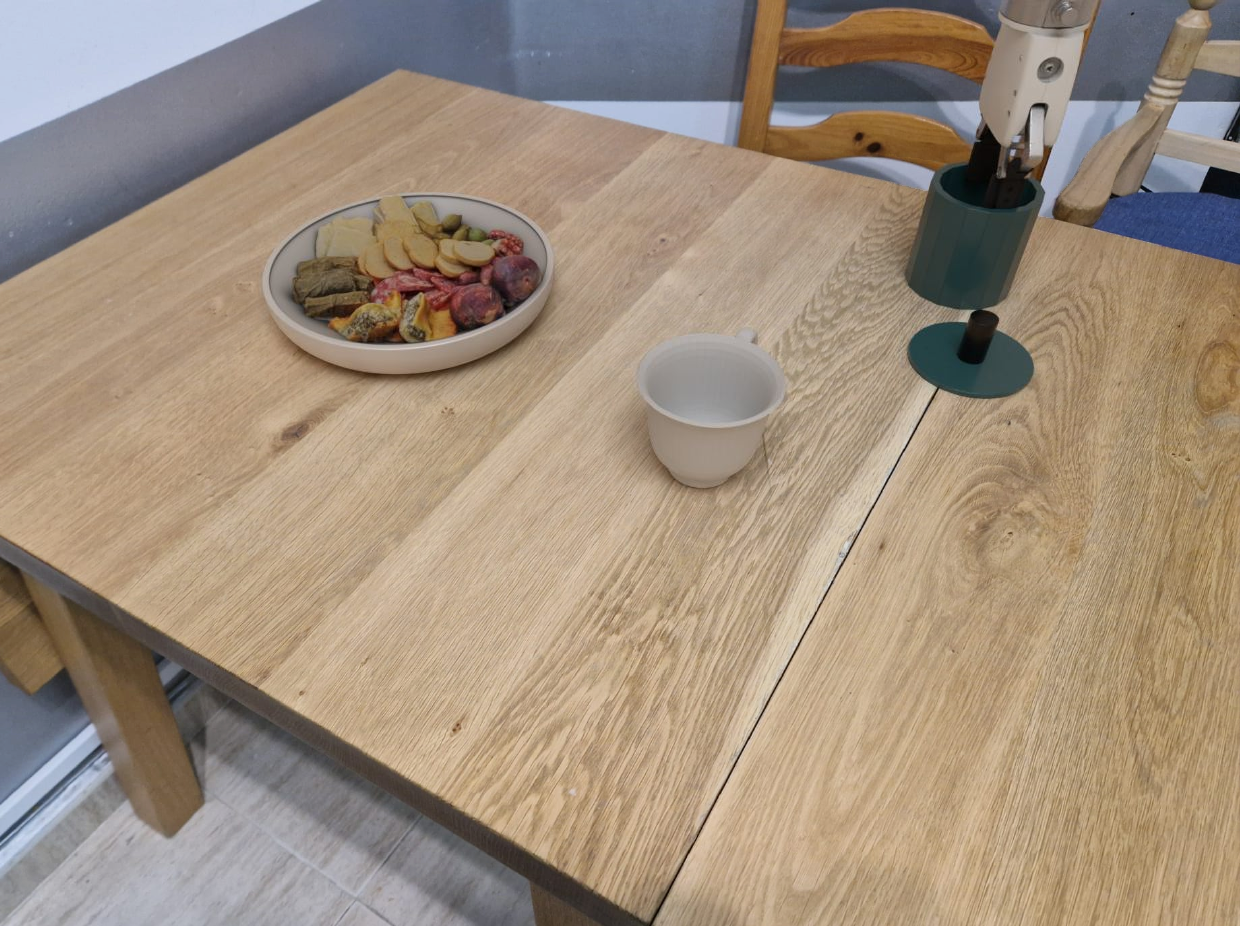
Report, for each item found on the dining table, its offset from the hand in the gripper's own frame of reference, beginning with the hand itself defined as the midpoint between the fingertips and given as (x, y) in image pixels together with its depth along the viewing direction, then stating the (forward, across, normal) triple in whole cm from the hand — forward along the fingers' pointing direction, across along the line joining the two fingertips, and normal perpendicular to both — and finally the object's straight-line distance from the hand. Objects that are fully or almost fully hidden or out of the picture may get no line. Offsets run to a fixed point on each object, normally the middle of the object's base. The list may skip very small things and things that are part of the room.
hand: (989, 195), depth 94 cm
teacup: (+10, -28, +28) cm, 41 cm away
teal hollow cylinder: (+10, 0, +1) cm, 10 cm away
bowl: (+10, -5, +59) cm, 60 cm away
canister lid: (+10, -14, +3) cm, 17 cm away
